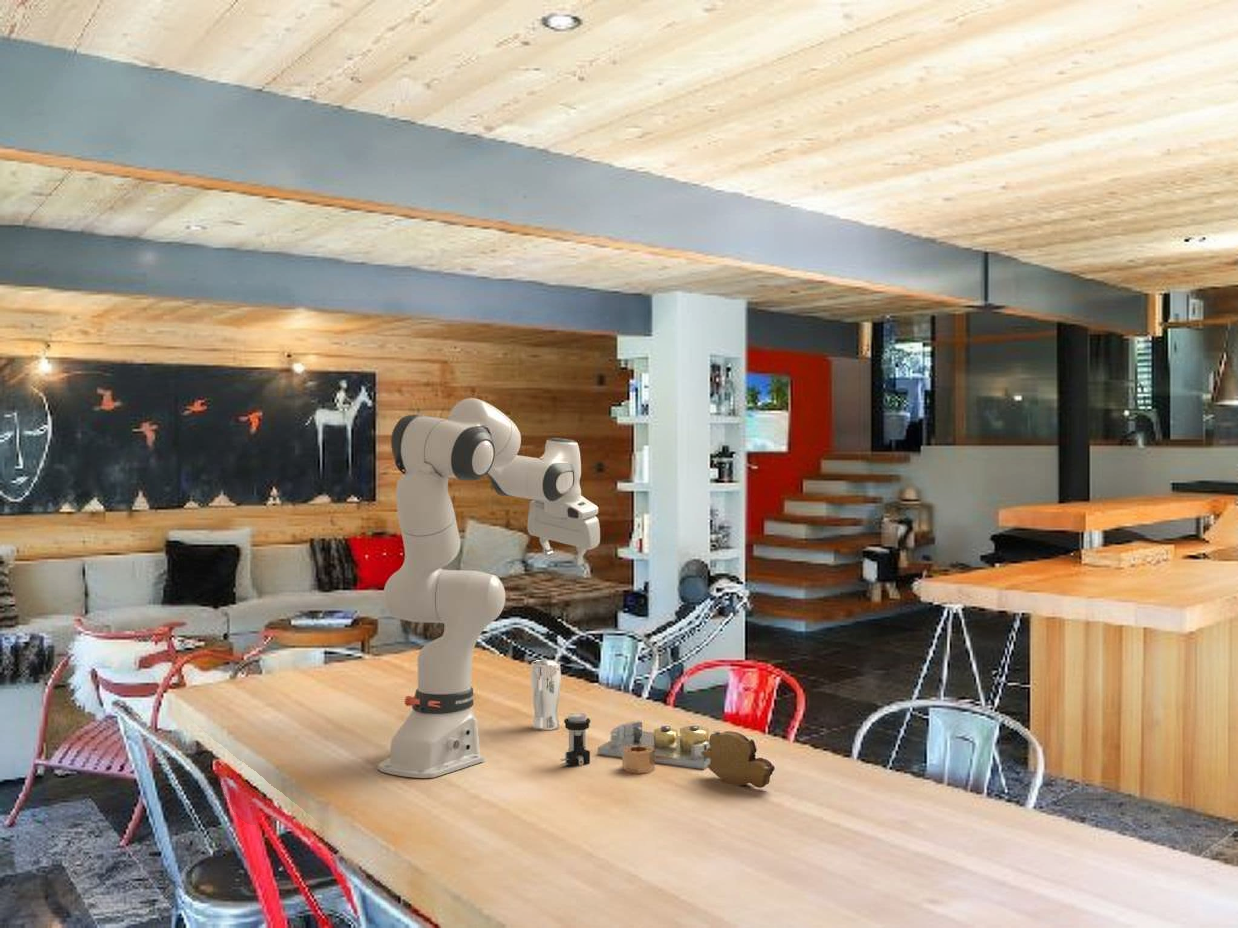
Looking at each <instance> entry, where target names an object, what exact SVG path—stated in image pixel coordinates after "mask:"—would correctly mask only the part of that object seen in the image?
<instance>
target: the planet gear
mask: <svg viewBox="0 0 1238 928" xmlns="http://www.w3.org/2000/svg"><path fill="white" fill-rule="evenodd" d="M621 760H622V762H621V763H622V767H621V768H622V770H623V771H624V772H625V773H630V774H635V775H637V774H638V775H639V774H647V773H649V774H650V773H652V772H653V771H654V770H655V769H656V768H655V767H656V765H655V749H653V748H652V747H651V746H645V745H631V746H627V747H625V748H623V749H622V758H621Z"/></svg>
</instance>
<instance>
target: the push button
mask: <svg viewBox="0 0 1238 928" xmlns="http://www.w3.org/2000/svg"><path fill="white" fill-rule="evenodd" d="M563 723H564V727H565V729H566V730H567V731H568V749H567V750H568V751H566V752H565V754H564V755H565V756H564V757H565V758H562V759H560V761H562V762H564V761H565V762H564V763H560V766H568V767H571V768H572V767H576V766H583V765H589V764H590V763H591V751H590V750H588V749H587V746H586V730H588V729H589V728H590V723H591V719H590V718H588V717H587V715H586V713H582V712H581V713H580V712H574V713H569V714H568V717H567V718H565V719H564V720H563Z"/></svg>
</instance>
